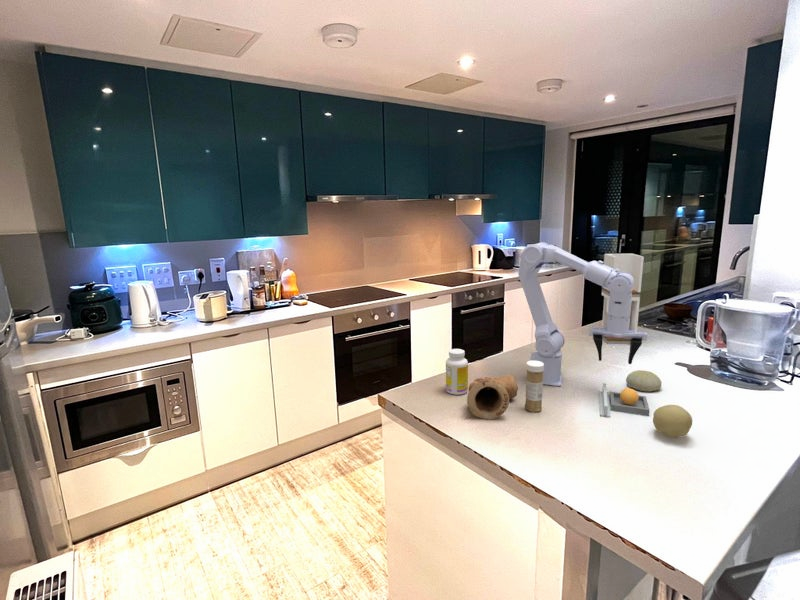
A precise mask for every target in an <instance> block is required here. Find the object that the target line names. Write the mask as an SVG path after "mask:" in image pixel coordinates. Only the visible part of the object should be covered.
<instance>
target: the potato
mask: <svg viewBox="0 0 800 600" xmlns="http://www.w3.org/2000/svg"><path fill="white" fill-rule="evenodd" d="M652 414H653V417H652V423H653V427H654V428H655V429H656V431H658V432H659V434H661V435H663V436H665V437H668V438H672V439H674V438H675V439H679V438H683V437H685V436H687V434H688V433H689V432H690V430H691V428H692V426H693V417H692V415H691V413H689V411H688V410H686V409H685V408H684V407H682V406H680V405H678V404H677V405H676V404H667V405H663V406H660V407H658V408H655V410H654V412H653V413H652Z"/></svg>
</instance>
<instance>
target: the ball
mask: <svg viewBox="0 0 800 600" xmlns="http://www.w3.org/2000/svg"><path fill="white" fill-rule="evenodd" d="M619 393H620V398H621V400H622V402H623V403H625V404H627V405H634V404H635V403H637V401H638V399H639V397H638V395H639V394H638V392H637V391H636V389H634V388H631V387H630V388H629V387H627V388H624V389H622V390H621V391H620V392H619Z"/></svg>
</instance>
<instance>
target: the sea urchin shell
mask: <svg viewBox="0 0 800 600" xmlns="http://www.w3.org/2000/svg"><path fill="white" fill-rule="evenodd" d="M625 381H626V384H627V385H628V386H629V387H630V388H632V389H634V390H638V391H640V392H655V391H659V390H660V389H661V388H662V383H663V382H662V380H661V378H660V377H659V376H658V375H657V374H655V373H653V372H652V371H649V370H648V371H647V370H640V369H639V370H634V371H631V372H630V373H629V374H627V376H626V378H625Z"/></svg>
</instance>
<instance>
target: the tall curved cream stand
mask: <svg viewBox="0 0 800 600" xmlns="http://www.w3.org/2000/svg"><path fill="white" fill-rule="evenodd" d="M644 258H645V257H644V256H642V255H639V254H635V253H604V255H603V262H604V263H603V264H604V265H606V266H608V267H611V268H613V269H615V270H616V269H619V270H620V272H628V273H629V274H630V275H632V276H633V278H634V280H635V285H634V287H633V289H632V290H631V291H632V298H631V300H632V304H631V314H630V324H629V330H633V331H638V326H639V325H638V323H639V313H640V305H641V304H640V303H641V302H640V301H641V292H642V280H643V269H644ZM620 272H619V273H620ZM601 296H603V310H602V323H601V328H607V316H608V305H609V299H610V291H609V290H608V288H604V287H602V286H601ZM602 337H603V338H602V341H604V342H605V343H606V344H607V345H630V341H631V339H629V338H618V337H607V336H602Z"/></svg>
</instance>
